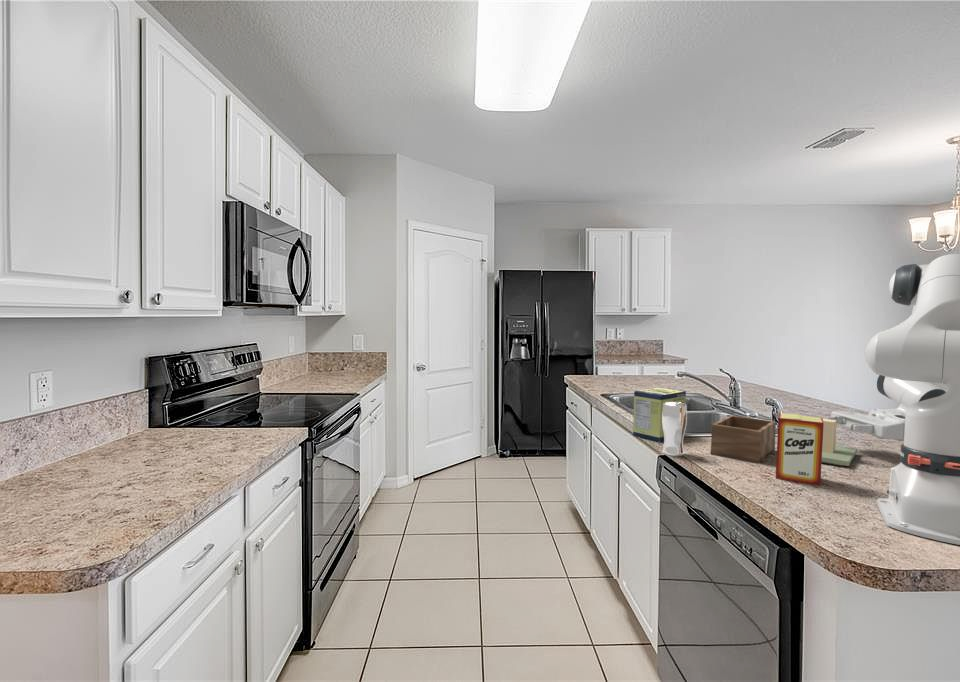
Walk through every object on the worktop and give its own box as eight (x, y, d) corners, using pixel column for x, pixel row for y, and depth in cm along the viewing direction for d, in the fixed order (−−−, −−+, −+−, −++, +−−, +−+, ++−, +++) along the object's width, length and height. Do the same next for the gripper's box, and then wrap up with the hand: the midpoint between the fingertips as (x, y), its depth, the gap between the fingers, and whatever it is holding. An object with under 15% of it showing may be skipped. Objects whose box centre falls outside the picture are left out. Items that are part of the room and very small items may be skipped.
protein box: (685, 435, 172) (686, 390, 171) (659, 442, 163) (661, 395, 162) (657, 429, 181) (659, 386, 180) (632, 436, 171) (633, 390, 170)
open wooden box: (759, 463, 141) (760, 431, 140) (710, 454, 150) (711, 424, 149) (774, 450, 154) (776, 421, 154) (729, 442, 163) (730, 415, 162)
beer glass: (670, 457, 146) (672, 406, 145) (655, 450, 153) (657, 402, 152) (690, 455, 148) (692, 405, 147) (675, 449, 155) (677, 401, 154)
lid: (848, 469, 137) (850, 429, 136) (793, 459, 146) (795, 421, 145) (856, 455, 150) (858, 418, 150) (805, 447, 159) (807, 412, 158)
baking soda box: (819, 478, 129) (822, 416, 128) (820, 485, 124) (823, 421, 123) (776, 471, 134) (779, 412, 133) (775, 478, 129) (778, 416, 128)
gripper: (856, 406, 159) (814, 406, 158) (916, 420, 139) (868, 421, 138) (855, 425, 159) (813, 426, 158) (915, 443, 139) (867, 443, 138)
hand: (839, 424), depth 148 cm, fingers open, 8 cm apart
